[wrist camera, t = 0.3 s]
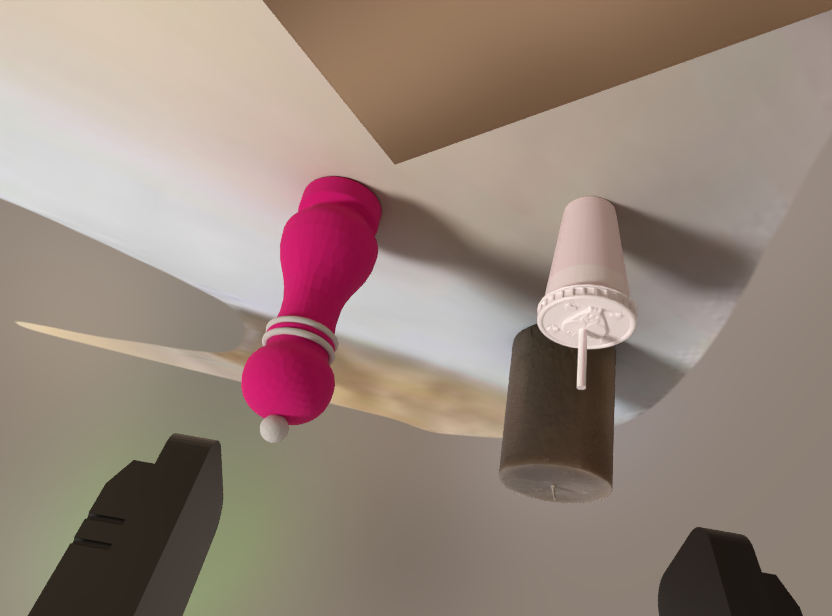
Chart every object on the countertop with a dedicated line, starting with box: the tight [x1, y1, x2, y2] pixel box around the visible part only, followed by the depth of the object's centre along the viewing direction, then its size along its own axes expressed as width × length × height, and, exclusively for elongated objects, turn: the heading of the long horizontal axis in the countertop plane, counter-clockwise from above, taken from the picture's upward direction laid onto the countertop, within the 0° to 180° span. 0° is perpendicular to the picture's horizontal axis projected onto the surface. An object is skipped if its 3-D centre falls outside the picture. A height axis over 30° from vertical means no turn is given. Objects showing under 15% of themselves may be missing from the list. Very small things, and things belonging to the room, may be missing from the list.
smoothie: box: [537, 196, 637, 390], centre depth 45 cm, size 6×6×14 cm
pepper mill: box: [242, 176, 382, 443], centre depth 47 cm, size 7×7×20 cm
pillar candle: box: [499, 324, 616, 503], centre depth 61 cm, size 10×10×15 cm
